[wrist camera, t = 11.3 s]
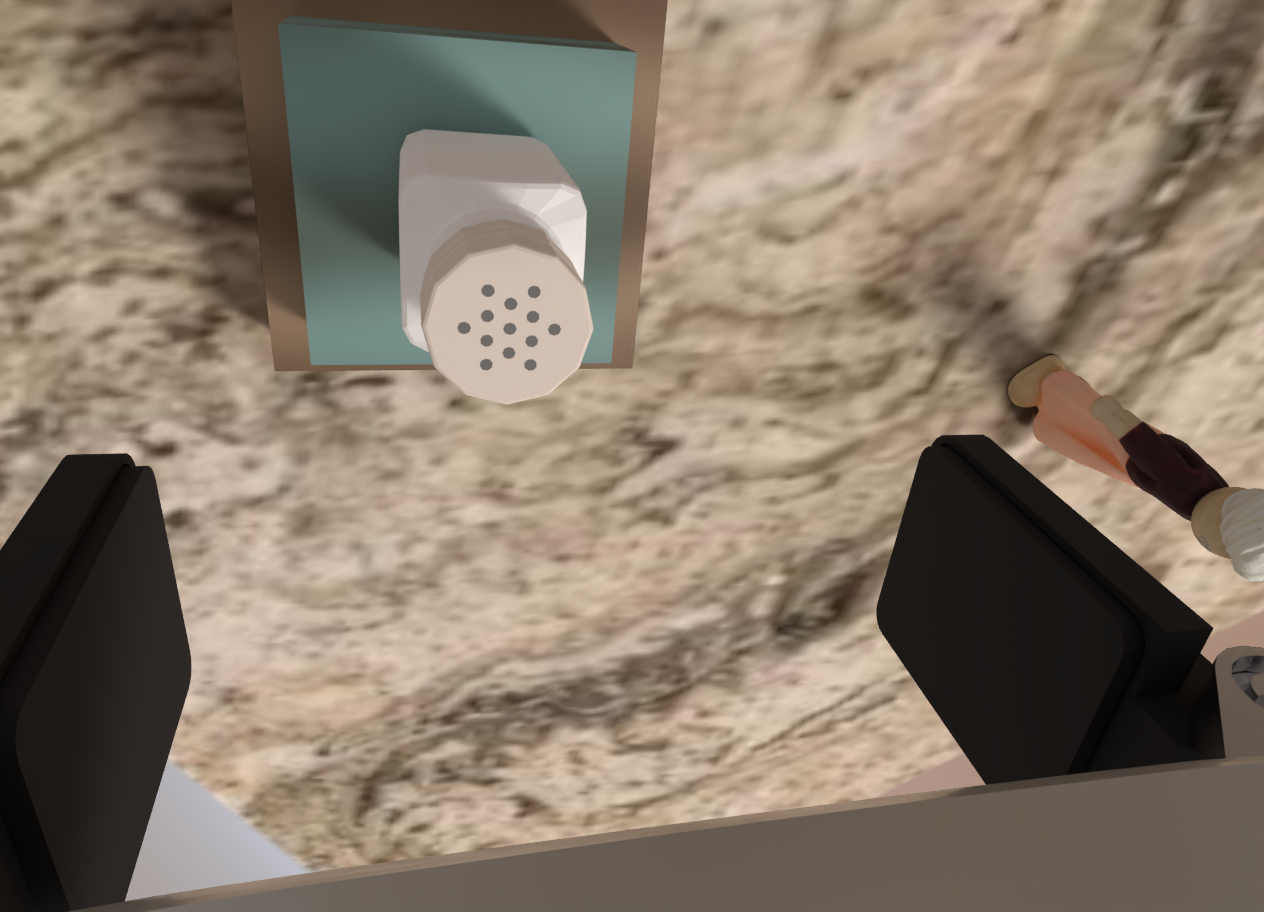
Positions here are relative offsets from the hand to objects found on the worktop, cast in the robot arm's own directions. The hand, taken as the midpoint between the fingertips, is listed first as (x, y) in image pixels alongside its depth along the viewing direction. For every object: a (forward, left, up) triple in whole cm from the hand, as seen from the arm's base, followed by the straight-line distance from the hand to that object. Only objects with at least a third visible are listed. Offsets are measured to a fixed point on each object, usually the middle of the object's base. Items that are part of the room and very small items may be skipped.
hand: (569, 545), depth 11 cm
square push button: (0, 0, -22) cm, 22 cm away
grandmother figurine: (+9, +27, -22) cm, 36 cm away
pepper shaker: (0, 0, -16) cm, 16 cm away
